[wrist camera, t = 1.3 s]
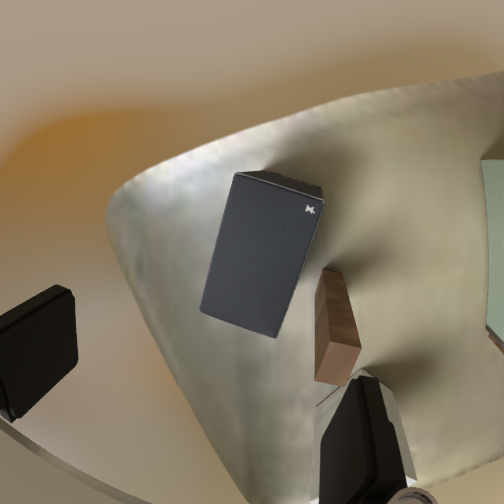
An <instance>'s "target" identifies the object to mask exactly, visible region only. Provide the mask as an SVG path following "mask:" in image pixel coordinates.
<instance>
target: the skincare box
mask: <svg viewBox="0 0 504 504" xmlns="http://www.w3.org/2000/svg"><path fill="white" fill-rule="evenodd" d="M359 375H363V376H369V377H373V376H371V375H370V374H369V373H367V372H366V371H365V370H363V369H360V370H359V371H358V372H357V373H355V374H354V375H353V376H352V377H351V378H350V379H349V380H348V381H347V383H346V385H345V387H343V386H341V387H340V388H338V389H337V390H336V391H335V392H334V393H333V394H331V395H330V396H329V397H328V398H327V399H326V400H324V401H323V402H322V403H321V404H320V405H318V406H317V407H316V408H315V417H314V446H313V464H312V480H311V493H310V503H312V504H319V479H320V443H321V439H322V436H323V434H324V432H325V430H326V429H327V427H328V425H329V423H330V421H331V419H332V417H333V415H334V413H335V411H336V409H337V407H338V405H339V403H340V401H341V399H342V397H343V395H344V393H345V391H346V389H347V387H348V385H349V383H350V381H351V380H352V379H353V378H354V379H357V378H358V376H359ZM379 384H380V388H381V392H382V395H383V399H384V403H385V407H386V411H387V415H388V419H389V421H391V422H392V423H393V425H394V428H395V432H396V436H397V440H398V444H399V449H400V453H401V457H402V462H403V466H404V471H405V476H406V481H407V486H408V487H409V486H410V485H412V484H414V483H415V482H417V478H416V473H415V469H414V465H413V461H412V457H411V453H410V450H409V446H408V443H407V439H406V435H405V432H404V428H403V425H402V422H401V418H400V415H399V412H398V408H397V405H396V402H395V399H394V395H393V392H392V391H391V390H390V389H389V388H387V387H386V386H385V385H383V384H382V383H380V382H379Z"/></svg>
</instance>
